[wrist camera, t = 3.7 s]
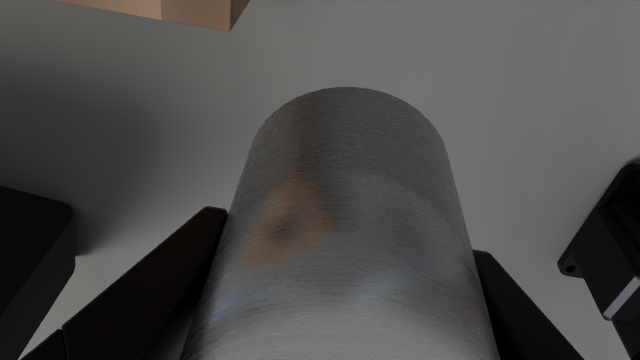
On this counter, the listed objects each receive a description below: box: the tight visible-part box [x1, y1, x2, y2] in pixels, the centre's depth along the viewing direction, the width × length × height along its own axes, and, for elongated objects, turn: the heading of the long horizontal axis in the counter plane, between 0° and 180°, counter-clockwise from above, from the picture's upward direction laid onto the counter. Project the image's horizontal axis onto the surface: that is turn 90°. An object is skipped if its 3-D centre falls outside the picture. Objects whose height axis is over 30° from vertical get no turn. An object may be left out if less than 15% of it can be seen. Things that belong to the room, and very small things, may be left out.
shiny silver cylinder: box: [179, 87, 500, 360], centre depth 7 cm, size 4×4×8 cm
